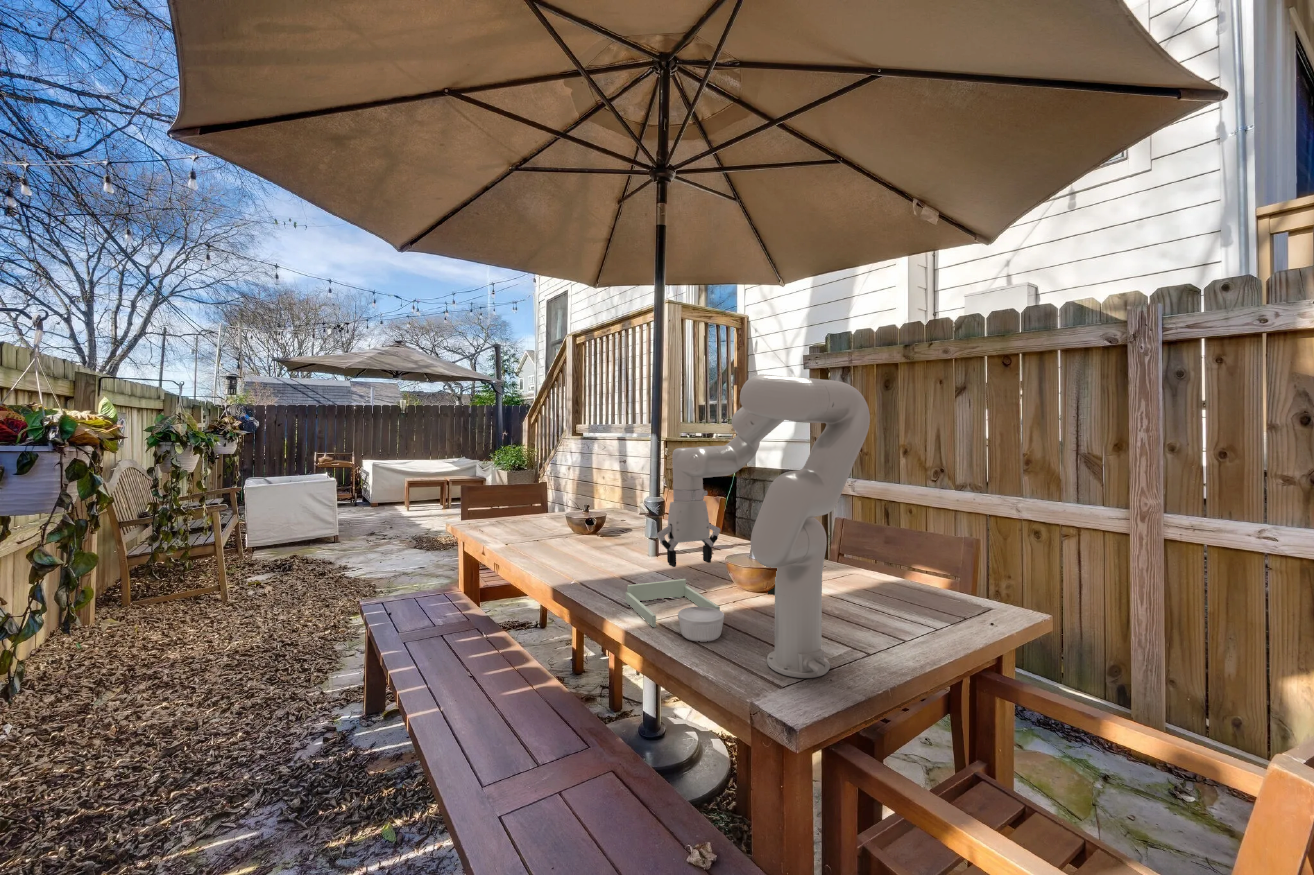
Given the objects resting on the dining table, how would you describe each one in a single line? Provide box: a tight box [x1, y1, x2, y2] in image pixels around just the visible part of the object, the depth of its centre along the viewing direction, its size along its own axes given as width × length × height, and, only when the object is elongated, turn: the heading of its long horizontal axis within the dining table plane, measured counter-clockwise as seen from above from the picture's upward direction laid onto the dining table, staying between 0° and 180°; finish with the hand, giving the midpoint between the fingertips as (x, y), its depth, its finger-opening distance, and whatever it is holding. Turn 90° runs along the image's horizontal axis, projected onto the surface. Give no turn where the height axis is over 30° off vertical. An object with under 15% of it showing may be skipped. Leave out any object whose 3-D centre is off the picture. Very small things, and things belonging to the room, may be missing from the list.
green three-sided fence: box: [625, 578, 721, 628], centre depth 150 cm, size 21×19×5 cm
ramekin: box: [677, 606, 726, 643], centre depth 132 cm, size 11×11×5 cm
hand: (690, 563), depth 139 cm, fingers open, 9 cm apart
